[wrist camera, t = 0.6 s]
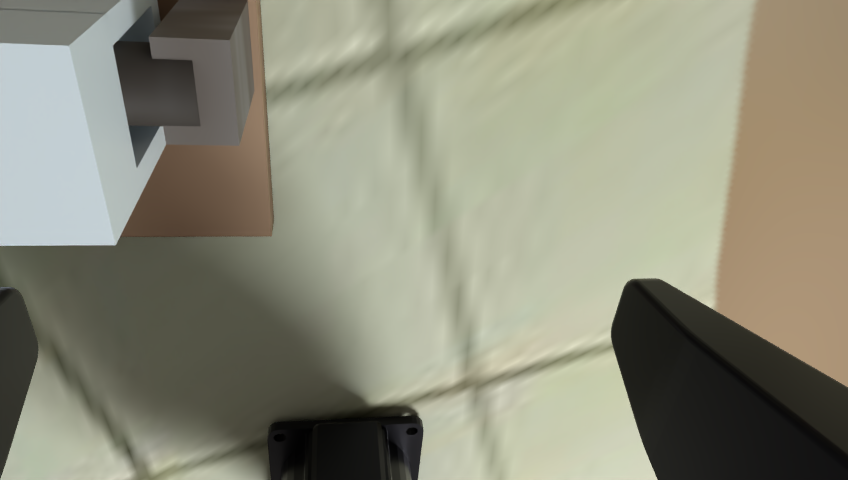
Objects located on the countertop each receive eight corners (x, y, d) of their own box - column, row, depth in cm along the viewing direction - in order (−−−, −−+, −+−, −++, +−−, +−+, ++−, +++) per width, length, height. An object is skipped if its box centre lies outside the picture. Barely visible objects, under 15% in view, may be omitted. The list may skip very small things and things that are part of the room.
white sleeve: (153, -28, 14) (68, 46, 10) (176, 124, 17) (115, 245, 12) (-36, -39, 14) (-221, 34, 9) (12, 120, 16) (-119, 246, 11)
